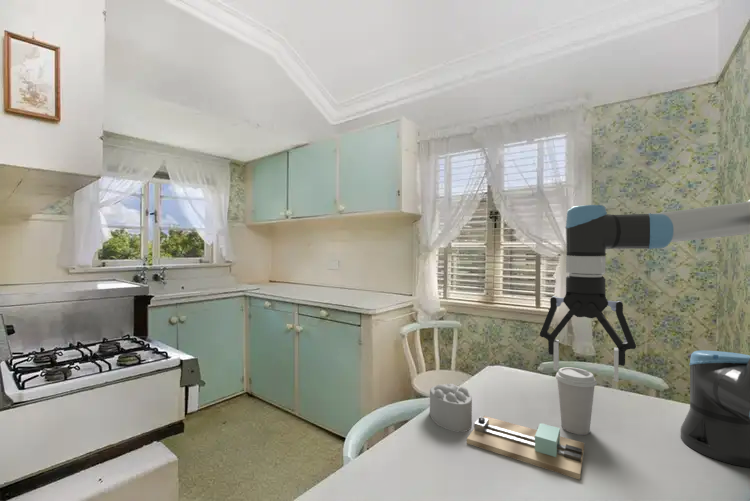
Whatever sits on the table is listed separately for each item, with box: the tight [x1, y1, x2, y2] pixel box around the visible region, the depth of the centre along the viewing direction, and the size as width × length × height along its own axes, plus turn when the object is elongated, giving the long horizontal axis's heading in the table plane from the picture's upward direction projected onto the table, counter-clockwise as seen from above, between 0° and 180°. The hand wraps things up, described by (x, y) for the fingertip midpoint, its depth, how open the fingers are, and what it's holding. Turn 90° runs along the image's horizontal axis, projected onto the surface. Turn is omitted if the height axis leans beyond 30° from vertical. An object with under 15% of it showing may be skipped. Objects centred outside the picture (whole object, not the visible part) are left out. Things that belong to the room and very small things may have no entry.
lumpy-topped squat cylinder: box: [429, 383, 473, 432], centre depth 97 cm, size 10×13×9 cm
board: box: [466, 415, 585, 480], centre depth 84 cm, size 24×14×1 cm, turn 56°
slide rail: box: [473, 416, 582, 462], centre depth 84 cm, size 24×4×2 cm, turn 56°
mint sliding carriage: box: [535, 422, 561, 457], centre depth 82 cm, size 4×7×4 cm, turn 146°
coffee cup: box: [554, 366, 598, 436], centre depth 93 cm, size 10×10×15 cm
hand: (584, 374), depth 77 cm, fingers open, 11 cm apart
